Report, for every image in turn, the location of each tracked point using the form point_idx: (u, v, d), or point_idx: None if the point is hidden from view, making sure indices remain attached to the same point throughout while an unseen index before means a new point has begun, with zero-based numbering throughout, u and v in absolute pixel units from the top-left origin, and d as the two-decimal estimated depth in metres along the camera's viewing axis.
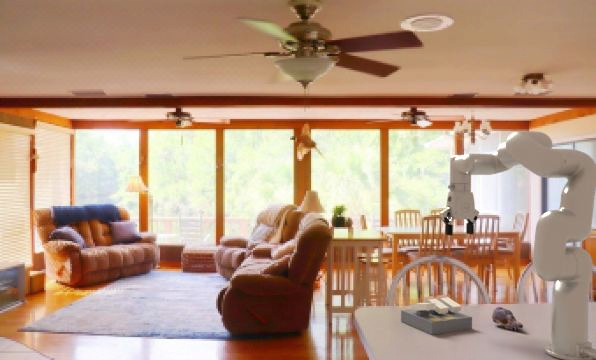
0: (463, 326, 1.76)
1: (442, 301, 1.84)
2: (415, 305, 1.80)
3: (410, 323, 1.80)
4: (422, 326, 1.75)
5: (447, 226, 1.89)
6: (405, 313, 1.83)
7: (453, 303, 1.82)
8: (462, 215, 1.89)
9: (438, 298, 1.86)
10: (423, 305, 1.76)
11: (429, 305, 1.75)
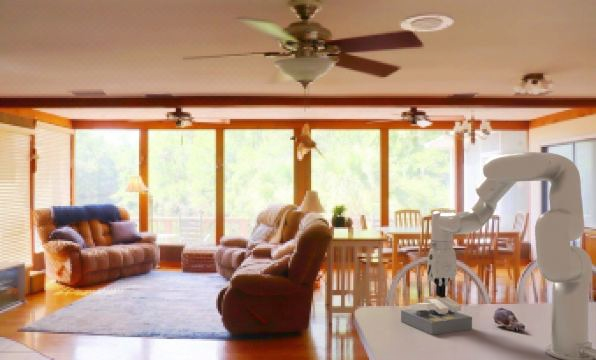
0: (463, 326, 1.76)
1: (442, 301, 1.84)
2: (415, 305, 1.80)
3: (410, 323, 1.80)
4: (422, 326, 1.75)
5: (438, 287, 1.86)
6: (405, 313, 1.83)
7: (453, 302, 1.82)
8: (443, 274, 1.84)
9: (438, 298, 1.86)
10: (423, 305, 1.76)
11: (429, 305, 1.75)
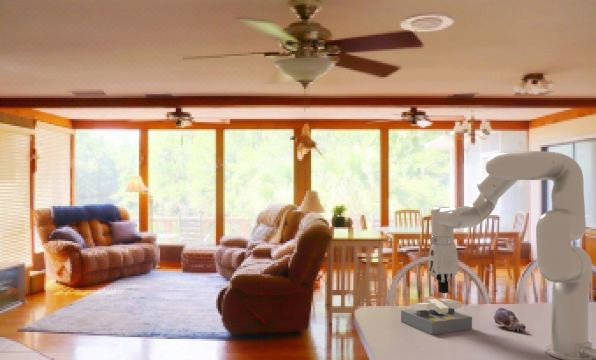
0: (463, 326, 1.76)
1: (442, 302, 1.84)
2: (415, 305, 1.80)
3: (410, 323, 1.80)
4: (422, 326, 1.75)
5: (440, 284, 1.85)
6: (405, 313, 1.83)
7: (453, 301, 1.82)
8: (445, 269, 1.83)
9: None
10: (423, 305, 1.76)
11: (429, 305, 1.75)
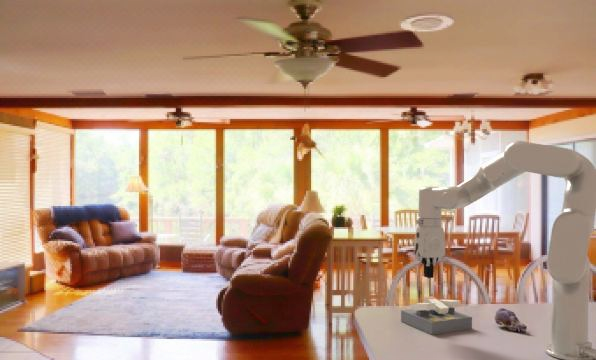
0: (463, 326, 1.76)
1: (442, 302, 1.84)
2: (415, 305, 1.80)
3: (410, 323, 1.80)
4: (422, 326, 1.75)
5: (425, 268, 1.75)
6: (405, 313, 1.83)
7: (452, 300, 1.82)
8: (431, 253, 1.73)
9: None
10: (423, 305, 1.76)
11: (429, 305, 1.75)
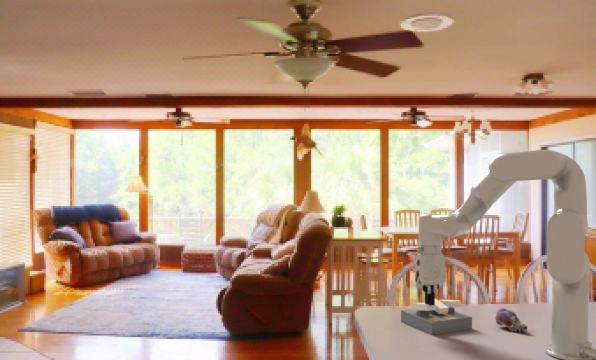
0: (463, 326, 1.76)
1: (442, 302, 1.84)
2: (415, 305, 1.80)
3: (410, 323, 1.80)
4: (422, 326, 1.75)
5: (426, 295, 1.75)
6: (405, 313, 1.83)
7: (452, 300, 1.82)
8: (432, 280, 1.72)
9: None
10: (423, 305, 1.76)
11: (429, 306, 1.75)
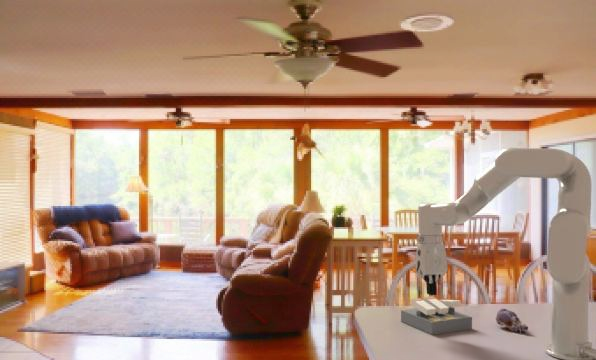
0: (463, 326, 1.76)
1: (442, 302, 1.84)
2: (415, 303, 1.80)
3: (410, 323, 1.80)
4: (422, 326, 1.75)
5: (428, 285, 1.75)
6: (405, 313, 1.83)
7: (452, 300, 1.82)
8: (433, 270, 1.72)
9: None
10: (423, 308, 1.76)
11: (429, 310, 1.75)
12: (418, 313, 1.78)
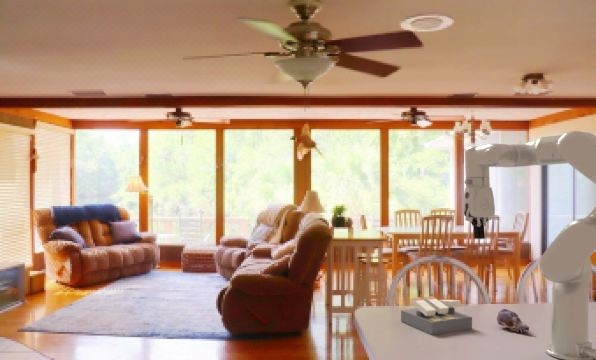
0: (463, 326, 1.76)
1: (442, 302, 1.84)
2: (416, 303, 1.80)
3: (410, 323, 1.80)
4: (422, 326, 1.75)
5: (476, 228, 1.72)
6: (405, 313, 1.83)
7: (452, 300, 1.82)
8: (482, 213, 1.70)
9: None
10: (423, 309, 1.76)
11: (429, 312, 1.75)
12: (418, 313, 1.78)
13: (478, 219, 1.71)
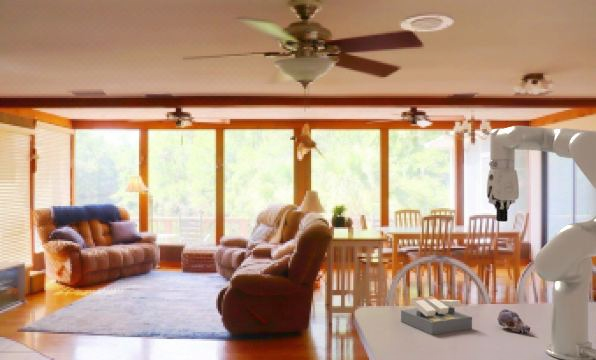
0: (463, 326, 1.76)
1: (442, 302, 1.84)
2: (416, 303, 1.80)
3: (410, 323, 1.80)
4: (422, 326, 1.75)
5: (499, 211, 1.72)
6: (405, 313, 1.83)
7: (452, 300, 1.82)
8: (505, 195, 1.69)
9: None
10: (423, 309, 1.76)
11: (429, 312, 1.75)
12: (418, 313, 1.78)
13: (501, 202, 1.70)
